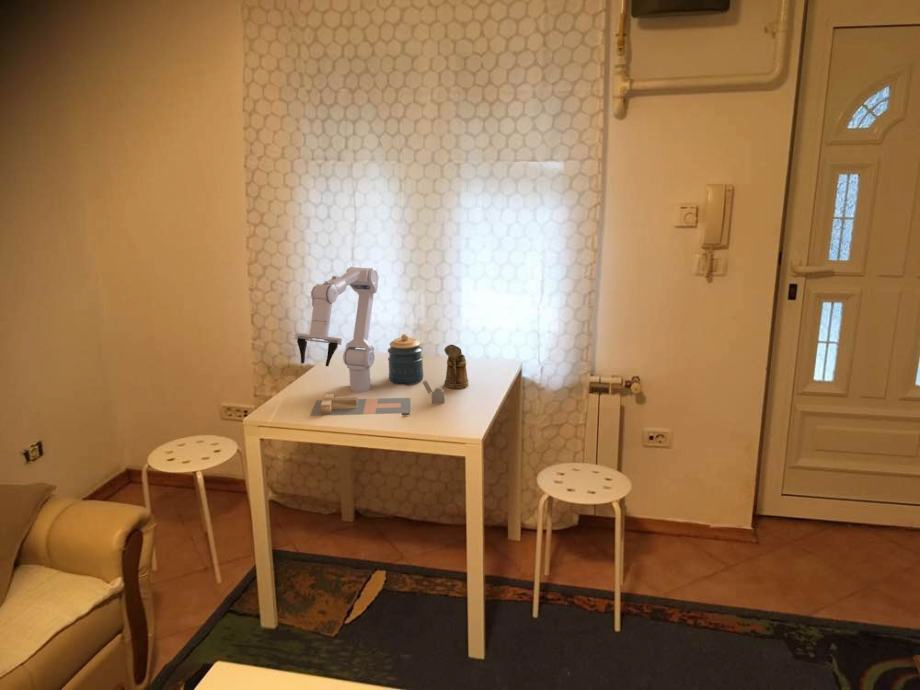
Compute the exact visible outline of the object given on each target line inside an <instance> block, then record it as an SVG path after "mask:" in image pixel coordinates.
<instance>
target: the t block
mask: <svg viewBox="0 0 920 690" xmlns="http://www.w3.org/2000/svg"><path fill="white" fill-rule="evenodd" d="M357 399H358V396H336V394H335V392H325V394H324V396H323V399H322V400H323V401H322V403H321V414H331V411H332V409H346V408H357V405H358V404H357Z"/></svg>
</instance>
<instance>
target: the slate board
mask: <svg viewBox="0 0 920 690" xmlns="http://www.w3.org/2000/svg"><path fill="white" fill-rule="evenodd" d="M322 401H323V399H318V400H317V399H316V401H315V403H314V405H313V408H312V410H311V411H310V412H311V413H310V414H309V417H315V416H316V417H317V416H320V417H321V416H349V415H350V416H353V415H382V414H383V415H385V414H388V415H389V414H401V415H409V416H410V413H411V397H390V398H389V397H385V398H357V404H358V405H357V408H346V409H332V411H331V414H321V403H322Z"/></svg>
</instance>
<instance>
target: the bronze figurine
mask: <svg viewBox="0 0 920 690" xmlns="http://www.w3.org/2000/svg"><path fill="white" fill-rule="evenodd" d="M444 353H445V355H446V356H448V357H447V360H446V365H447V367H446V374H445V380H444V387H445V388H447V389H451V390H460V389H462V388H463V389H466V388H468V387H469V379H468V372H467V366H466V365H467V360H466V358H465V357H466V356H465V354H462V353H463V352H462V349H461V348H460V347H459V346H457V345H455V344H449V345H446V347H445V348H444Z"/></svg>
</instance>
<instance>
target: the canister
mask: <svg viewBox="0 0 920 690" xmlns="http://www.w3.org/2000/svg"><path fill="white" fill-rule="evenodd" d="M389 346H390V347H388V349H387V353H388V356H389V357H388V358H387V360H388V379H389V382H390V383H392V384H395V385H405V386H408V385H415V384H419V383H421V382H423V380H424V375H425V374H424V368H423V367H424V361H423V360H424V356H423V355H422V352H423V350H424V349H423V347H422V346H421V341H419V340H417V339H416V338H414V337H409V335H408V334H407V333H403V334H402V335H401V336H400V337H397V338H395V339H393V340H392V341H390V343H389Z"/></svg>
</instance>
